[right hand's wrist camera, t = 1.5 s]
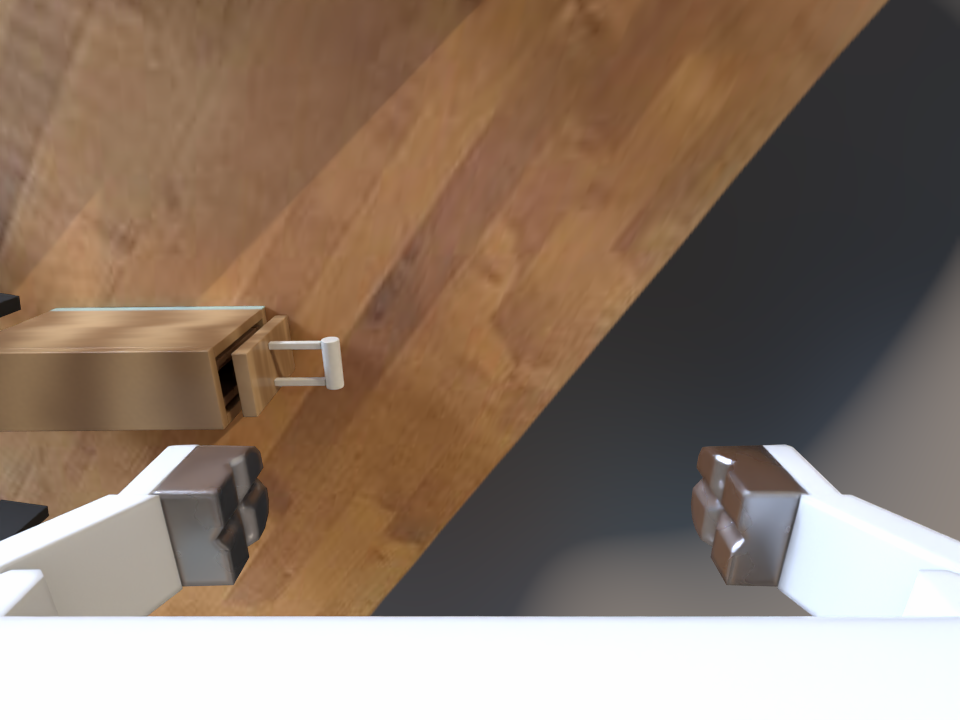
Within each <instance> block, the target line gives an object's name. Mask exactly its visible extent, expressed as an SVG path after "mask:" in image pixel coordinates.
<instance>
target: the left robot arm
mask: <svg viewBox="0 0 960 720" xmlns="http://www.w3.org/2000/svg"><path fill="white" fill-rule="evenodd" d="M18 310H21V307H20V300H19V296H15V295H9V294H3V293H0V317H3V316H5V315H8V314H11V313H13V312H16V311H18ZM48 516H49V514H48V506H43V505H36V504H29V503H21V502H14V501H7V500H1V501H0V541H2V540H4V539H7V538H9V537H11V536H14V535H16V534H18V533H21V532H23V531H25V530H28V529H30V528H32V527H35V526H37V525H39V524H40V523H41V522H43V521H44V520H45V519H46V518H47V517H48Z"/></svg>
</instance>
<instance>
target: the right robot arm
mask: <svg viewBox="0 0 960 720" xmlns="http://www.w3.org/2000/svg"><path fill="white" fill-rule="evenodd" d="M262 469H263V464H262V459H261V454H260V451H259V450H258V449H257V448H256V447H255V446H215V445H202V446H200V445H174V446H168V447H167V448H166V449H165V450H164V451H163V452H162V453H161V454H160V455H159V456H158V457H157V458H156V459H155V460H154V461H153V462H152V463H150V464H149V465H148V466H147V467H146V468H145V469H144V470H143V471H142V472H141V473H140V474H139V475H138V476H137V477H136V478H135V479H134V480H133V481H132V482H131V483H130V484H129V485H128V486H127V487H126V488H124V489H123V490H122V491H121V492H120V493H119V494H118V495H107V496H105V497H103V498H100V499H98V500H96V501H93V502H91V503H89V504H86V505H84V506H82V507H79V508H77V509H74V510H72V511H70V512H67V513H65V514H63V515H60V516H58V517H56V518H53V519H51V520H49V521H46V522H44V523H42V524H39V525H37V526H35V527H32V528H30V529H28V530H25V531H23V532H21V533H18V534H16V535H14V536H11V537H9V538H7V539H4V540H2V541H0V720H960V541H958V540H955V539H953V538H951V537H948V536H946V535H944V534H941V533H939V532H937V531H934V530H932V529H930V528H927V527H925V526H923V525H920V524H918V523H916V522H913V521H911V520H909V519H906V518H904V517H902V516H899V515H897V514H895V513H892V512H890V511H888V510H885V509H883V508H881V507H878V506H876V505H874V504H871V503H869V502H867V501H864V500H862V499H860V498H857V497H855V496H853V495H842V494H841V493H840V492H839V491H838V490H837V489H836V488H834V487H833V486H832V485H831V484H830V483H829V482H828V481H827V480H826V479H825V478H824V477H823V476H822V475H821V474H820V473H819V472H818V471H817V470H816V469H815V468H814V467H813V466H812V465H811V464H810V463H809V462H808V461H807V460H806V459H804V458H803V457H802V456H801V455H800V454H799V453H798V452H797V451H796V450H795V449H794V448H793V447H791V446H788V445H764V446H763V445H759V446H718V447H703V448H702V450H701V452H700V454H699V458H698V463H697V469H698V470H699V472H700V473H701V475H702V476H703V479H702V480H701V481H700V482H699V483H698V484H697V485H696V486H695V487H694V488H693V493H692V501H691V508H692V519H693V522H694V525H695V529H696V531H697V533H698V535H699V536H700V538H701V540H703V541H704V542H706V543H707V544H709V545H711V546H712V547H713V548H712V553H711V558H712V560H713V562H714V564H715V565H716V567H717V569H718V571H719V572H720V574H721V576H722V578H723V579H724V581H725V583H726V585H745V586H778V589H779V590H780V591H781V592H782V593H784V594H785V595H786V596H788V597H789V598H790V599H792V600H793V601H794V602H795V603H797V604H798V605H799V606H801V607H802V608H803V609H805V610H806V611H807V612H808V613H810V614H811V615H812V616H148V615H149V614H150V613H152V612H153V611H154V610H156V609H157V608H158V607H160V606H161V605H162V604H163V603H165V602H166V601H167V600H169V599H170V598H171V597H173V596H174V595H175V594H176V593H178V592H179V591H180V590H182V586H214V585H234V583H235V581H236V580H237V578H238V576H239V574H240V572H241V571H242V569H243V567H244V565H245V564H246V562H247V560H248V558H249V553H248V548H247V547H248V546H250V545H251V544H253V543H254V542H256V541H257V540H259V538H260V537H261V535H262V533H263V531H264V529H265V526H266V521H267V517H268V512H269V499H268V493H267V488H266V487H265V486H264V485H263V484H262V483H261V482H260V481H259V480H258V479H257V476H258V475H259V473H260V472H261V470H262Z"/></svg>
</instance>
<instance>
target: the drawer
mask: <svg viewBox="0 0 960 720" xmlns="http://www.w3.org/2000/svg"><path fill="white" fill-rule="evenodd" d="M321 348H322V355H323V363H324V371H325V377H297V378H289V376H290V375H291V374H292V373H293V371H294V370H295V364H294V357H293V349H321ZM215 360H216V365H217V370H218V375H219V380H220V385H221V390H222V394H223V399H224V404H225V406H226V405H227V404H228V403H229V402H230V401H231V400H232V399H233V398H234V397H235V396H236V395H237V394H238V392H239V397H240V402H241V407H242V412H243V417H258V416H259V414H260V413H261V412H262V411H263V409H264V408H265V407H266V406H267V404H268V403H269V402H270V400H271V399H272V398H273V397H274V395H275V394H276V393H277V392H278V390H279V389H280V388H281V387H282V386H325V385H326V387H327V388H328V389H330V390H337V389H340V388H342V387H344V378H343V369H342V360H341V351H340V342H339V338H337V337H326V338H323V339H322V340H321V341H291V336H290V330H289V323H288V316H287V315H277V316H274V317H273V318H272V319H271V320H270V321H268V322H267V323H266V324H265V325H264V326H263V327H262V328H260V325H254V326H253V327H251V328H250V329H249V330H248V331H247V332H245V333H244V334H243V335H242V336H241V337H239V338H238V339H237V340H236V341H235V342H233V343H232V344H231V345H230V346H229V347H227V348H226V349H225V350H224V351H223V352H221V353H220V354H219V355H218V356H217V357H215Z"/></svg>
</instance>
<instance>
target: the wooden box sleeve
mask: <svg viewBox="0 0 960 720" xmlns="http://www.w3.org/2000/svg"><path fill="white" fill-rule="evenodd" d="M266 323H267V320H266V313H265V306H234V307H126V308H55V309H53V310H51V311H49V312H46V313H44V314H41V315H39V316H36V317H34V318H32V319H29V320H27V321H24V322H22V323H19V324H17V325H14V326H12V327H9V328H7V329H4V330H2V331H0V432H2V431H109V430H216V429H225V428H226V427H227V426H228V424H230V422H231V421H232V420H233V419H234V418H235V417H236V416H237V414H238V413H239V412H240V411H241V410H242V407H241V402H240V397H239V392H238V394H237V395H236V396H235V397H234V398H233V399H232V400H231V401H230V402H229V403H228V404H227V405H226V406H225V404H224V399H223V394H222V390H221V385H220V380H219V375H218V370H217V365H216V360H215V357H217V356H218V355H219V354H220V353H221V352H223V351H224V350H225V349H226V348H227V347H229V346H230V345H231V344H232V343H233V342H235V341H236V340H237V339H238V338H239V337H241V336H242V335H243V334H244V333H245V332H247V331H248V330H249V329H250V328H251V327H253V326H254V325H260V328H262V327H263V326H264V325H265V324H266Z"/></svg>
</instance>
